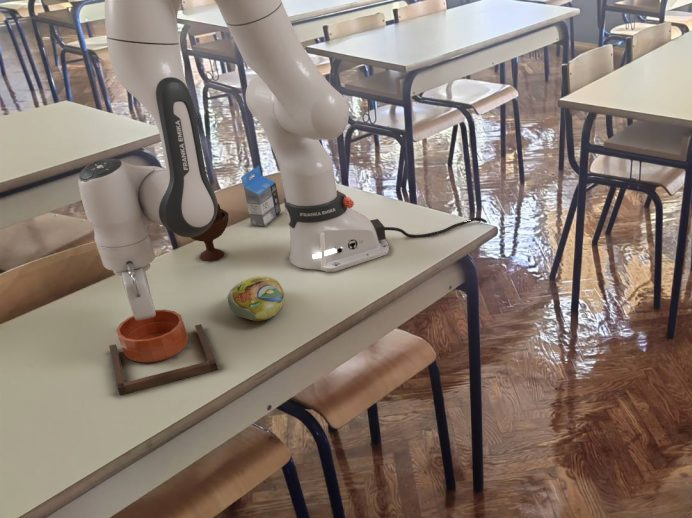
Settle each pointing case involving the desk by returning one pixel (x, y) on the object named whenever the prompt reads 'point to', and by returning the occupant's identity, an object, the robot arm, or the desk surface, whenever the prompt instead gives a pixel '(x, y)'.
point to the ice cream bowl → (213, 236)
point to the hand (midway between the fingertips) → (147, 318)
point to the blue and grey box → (261, 198)
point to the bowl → (153, 337)
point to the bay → (166, 376)
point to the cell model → (256, 298)
